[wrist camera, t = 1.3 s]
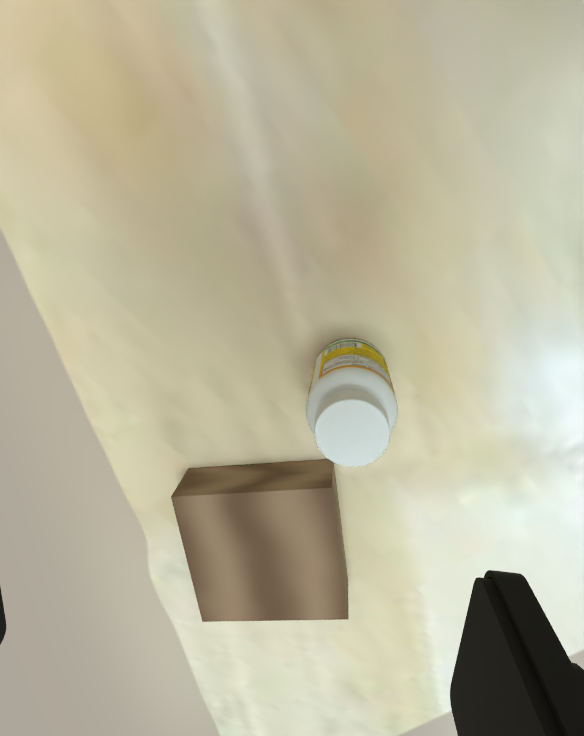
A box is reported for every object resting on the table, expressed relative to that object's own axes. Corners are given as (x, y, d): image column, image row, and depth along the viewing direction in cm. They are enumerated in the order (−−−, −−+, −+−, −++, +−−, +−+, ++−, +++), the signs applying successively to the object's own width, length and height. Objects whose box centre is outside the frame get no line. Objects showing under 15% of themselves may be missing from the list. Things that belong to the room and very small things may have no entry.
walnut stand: (333, 459, 36) (331, 487, 32) (347, 580, 40) (348, 619, 36) (188, 468, 38) (171, 497, 34) (215, 584, 41) (202, 621, 38)
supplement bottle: (342, 322, 32) (341, 365, 23) (403, 365, 33) (426, 424, 24) (298, 380, 34) (281, 442, 25) (357, 420, 35) (362, 495, 26)
